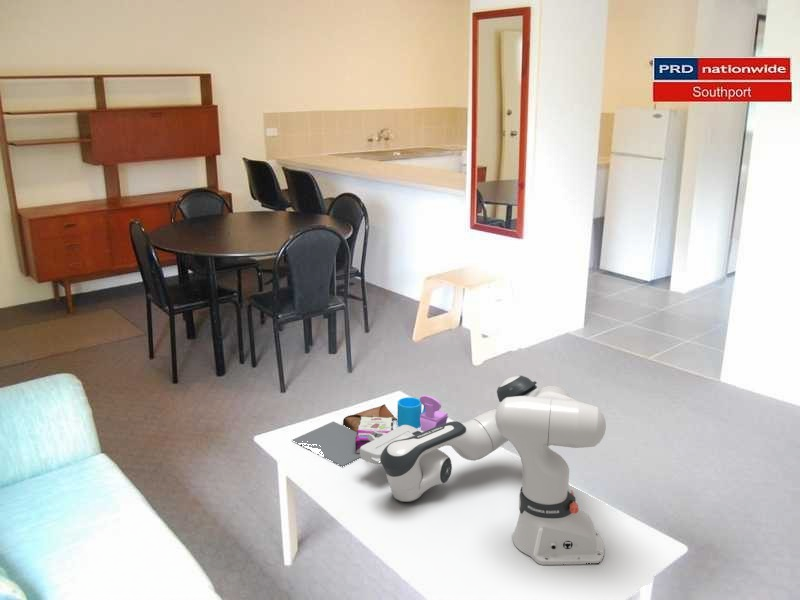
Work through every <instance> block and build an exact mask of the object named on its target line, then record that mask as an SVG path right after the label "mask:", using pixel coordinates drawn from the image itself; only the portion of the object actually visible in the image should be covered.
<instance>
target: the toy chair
mask: <svg viewBox="0 0 800 600" xmlns="http://www.w3.org/2000/svg"><path fill="white" fill-rule="evenodd" d="M419 400H420V402H421V403H422V406H423V407H424V406H425V413H423V414H421V417H420V423H421V426H420V430H422V431H427V430H429V429H432V428H434V427H437V426H439V425H442V424H445V423H447V420H448V417H449V416H448V413H447V412H445V411H440V410H441V407H442V403H441V401H439V400H438V399H437V398H435V397H433V396H431V395H426V394H423V395H420V397H419Z"/></svg>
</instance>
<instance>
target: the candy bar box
mask: <svg viewBox="0 0 800 600" xmlns="http://www.w3.org/2000/svg"><path fill="white" fill-rule="evenodd" d="M392 430H394V421H393V418H392V417H360V422H359V426H358V431H357V435H356V439H355V445H356V453H360V447H361V446H363V445H365V444H367V443H369V442H371V441H370V440H369V439H368V434H370V433H372V432H374V431H376V432H378V433H388V432H390V431H392Z"/></svg>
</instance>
